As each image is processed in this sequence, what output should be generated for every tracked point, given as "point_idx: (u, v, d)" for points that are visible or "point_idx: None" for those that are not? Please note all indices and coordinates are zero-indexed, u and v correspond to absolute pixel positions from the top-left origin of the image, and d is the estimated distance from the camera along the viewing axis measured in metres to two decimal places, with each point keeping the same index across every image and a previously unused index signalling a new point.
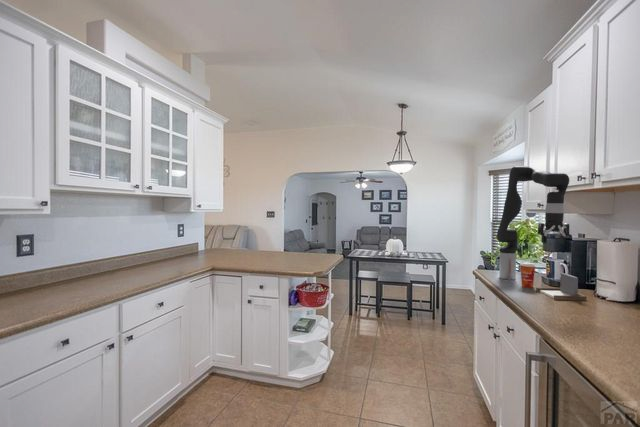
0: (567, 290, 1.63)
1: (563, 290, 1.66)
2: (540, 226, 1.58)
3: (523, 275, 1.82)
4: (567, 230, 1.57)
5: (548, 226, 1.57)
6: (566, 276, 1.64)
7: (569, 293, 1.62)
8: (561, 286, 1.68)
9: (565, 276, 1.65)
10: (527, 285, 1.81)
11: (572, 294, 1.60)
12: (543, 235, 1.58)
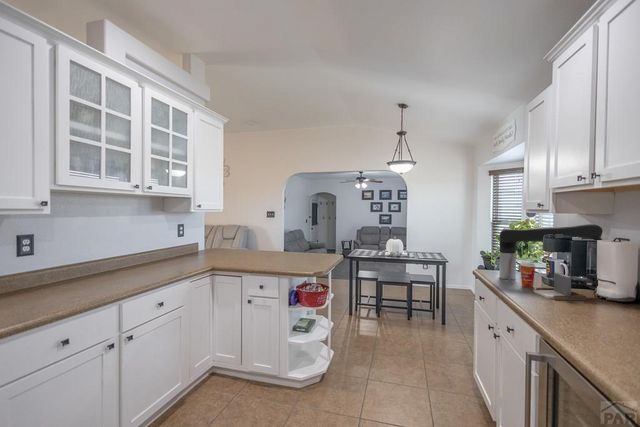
0: (560, 290, 1.64)
1: (557, 290, 1.67)
2: (586, 284, 1.58)
3: (523, 275, 1.82)
4: None
5: None
6: (559, 276, 1.64)
7: (562, 293, 1.62)
8: (555, 286, 1.68)
9: (558, 276, 1.65)
10: (527, 285, 1.81)
11: (565, 294, 1.60)
12: (574, 282, 1.62)
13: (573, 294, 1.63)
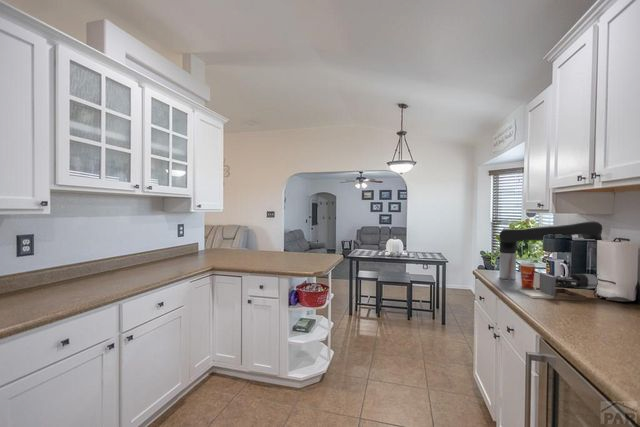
0: (545, 290, 1.64)
1: (542, 289, 1.67)
2: (571, 283, 1.59)
3: (523, 275, 1.82)
4: None
5: None
6: (545, 276, 1.65)
7: (547, 292, 1.63)
8: (540, 285, 1.69)
9: (544, 276, 1.66)
10: (527, 285, 1.81)
11: (550, 293, 1.61)
12: (559, 282, 1.63)
13: (573, 294, 1.63)
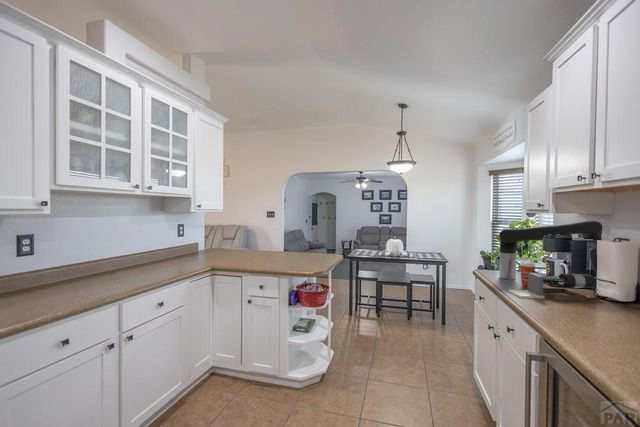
0: (534, 290, 1.65)
1: (530, 289, 1.68)
2: (558, 283, 1.59)
3: (523, 275, 1.82)
4: None
5: None
6: (533, 275, 1.66)
7: (535, 292, 1.63)
8: (528, 285, 1.69)
9: (532, 275, 1.66)
10: (527, 285, 1.81)
11: (538, 293, 1.61)
12: (547, 282, 1.63)
13: (573, 294, 1.63)
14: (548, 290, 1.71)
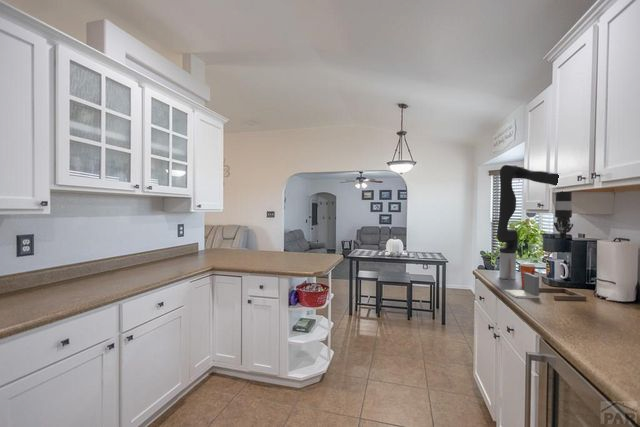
0: (529, 290, 1.65)
1: (526, 289, 1.68)
2: (570, 227, 1.68)
3: (523, 275, 1.82)
4: None
5: None
6: (529, 275, 1.66)
7: (531, 292, 1.64)
8: (524, 285, 1.70)
9: (528, 275, 1.67)
10: None
11: (534, 293, 1.61)
12: (566, 232, 1.72)
13: (573, 294, 1.63)
14: (548, 290, 1.71)
